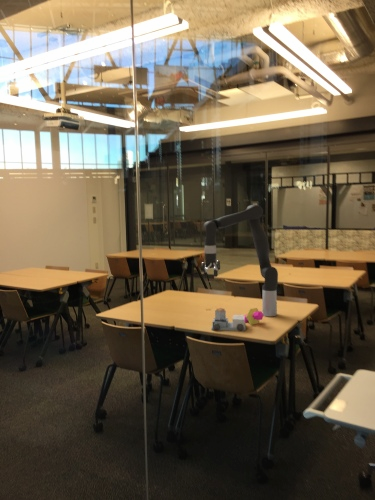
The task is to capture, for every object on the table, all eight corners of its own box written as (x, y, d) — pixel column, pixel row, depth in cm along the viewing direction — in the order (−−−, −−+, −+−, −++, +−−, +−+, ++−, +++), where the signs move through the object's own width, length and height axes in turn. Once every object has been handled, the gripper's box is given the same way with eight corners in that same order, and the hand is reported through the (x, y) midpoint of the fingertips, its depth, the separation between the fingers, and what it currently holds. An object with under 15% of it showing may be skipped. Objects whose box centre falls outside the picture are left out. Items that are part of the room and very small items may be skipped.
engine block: (220, 323, 253) (220, 307, 252) (225, 325, 249) (225, 308, 248) (215, 324, 250) (215, 308, 249) (220, 326, 246) (219, 310, 245)
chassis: (245, 324, 254) (245, 314, 253) (245, 331, 241) (245, 320, 240) (213, 324, 257) (213, 313, 256) (211, 330, 244) (211, 319, 243)
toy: (254, 319, 268) (246, 306, 267) (271, 317, 252) (263, 303, 252) (244, 328, 263) (235, 314, 262) (260, 326, 247) (252, 312, 247)
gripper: (205, 253, 256) (205, 279, 257) (222, 251, 264) (222, 276, 266) (198, 252, 262) (198, 277, 263) (214, 251, 270) (215, 275, 272)
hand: (210, 277), depth 264 cm, fingers open, 8 cm apart
